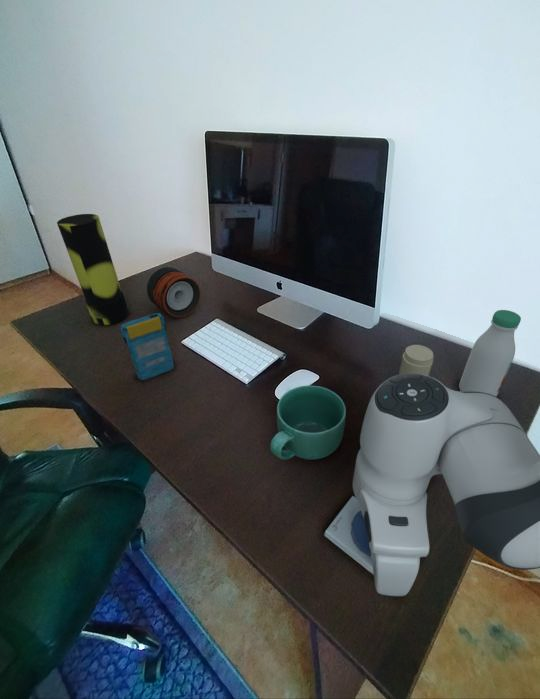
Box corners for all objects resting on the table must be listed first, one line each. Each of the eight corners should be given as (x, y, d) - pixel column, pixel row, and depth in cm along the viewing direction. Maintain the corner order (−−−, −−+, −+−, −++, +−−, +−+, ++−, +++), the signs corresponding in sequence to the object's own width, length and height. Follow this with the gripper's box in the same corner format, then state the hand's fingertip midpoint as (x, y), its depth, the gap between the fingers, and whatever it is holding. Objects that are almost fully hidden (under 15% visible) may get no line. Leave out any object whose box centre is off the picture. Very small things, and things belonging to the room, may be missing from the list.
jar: (429, 395, 82) (440, 359, 76) (403, 400, 81) (412, 363, 75) (415, 378, 87) (425, 342, 81) (391, 381, 86) (398, 346, 80)
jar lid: (362, 505, 60) (362, 499, 59) (403, 527, 56) (405, 522, 55) (343, 541, 55) (343, 535, 54) (387, 567, 52) (388, 562, 51)
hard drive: (324, 531, 57) (399, 590, 50) (352, 494, 62) (425, 544, 55) (324, 536, 58) (397, 595, 51) (352, 500, 63) (423, 549, 56)
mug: (309, 409, 80) (310, 375, 75) (355, 442, 72) (360, 408, 67) (249, 451, 72) (246, 417, 66) (294, 494, 64) (294, 460, 58)
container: (85, 319, 114) (47, 221, 97) (116, 305, 121) (85, 211, 103) (105, 330, 109) (69, 228, 91) (136, 314, 116) (107, 217, 98)
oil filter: (167, 324, 110) (158, 284, 103) (148, 309, 118) (138, 272, 110) (203, 308, 117) (197, 270, 109) (183, 295, 125) (176, 259, 117)
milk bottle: (487, 409, 78) (522, 330, 67) (451, 391, 83) (478, 315, 71) (501, 391, 82) (537, 314, 71) (467, 375, 87) (495, 301, 75)
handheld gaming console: (172, 361, 96) (160, 311, 87) (178, 369, 93) (166, 318, 84) (135, 374, 92) (118, 324, 83) (140, 384, 89) (123, 332, 80)
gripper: (355, 420, 56) (347, 475, 65) (374, 562, 40) (360, 610, 48) (397, 422, 56) (384, 477, 64) (434, 566, 39) (409, 615, 48)
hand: (373, 535), depth 56 cm, fingers closed on jar lid, 7 cm apart
